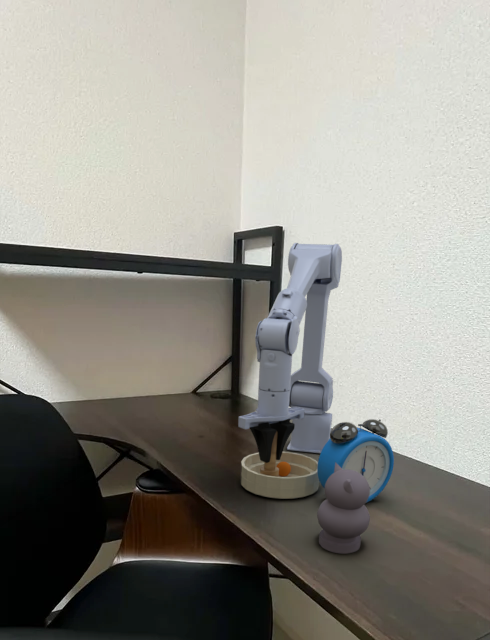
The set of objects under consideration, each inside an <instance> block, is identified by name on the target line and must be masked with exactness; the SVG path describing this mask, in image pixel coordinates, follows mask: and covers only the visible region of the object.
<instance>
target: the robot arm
mask: <svg viewBox="0 0 490 640" xmlns="http://www.w3.org/2000/svg"><path fill="white" fill-rule="evenodd" d="M287 257H288V258H287V267H288V272H289V275H290V277H289V280H288V283H287V287H286V288H284V289H281V290H280V291H279V292H278V294H277V296H276V298H275V299H274V300H275V301H274V302H273V305H272V307H271V309H270V311H269V313H268V316H267V317H265V318H263V319H262V320H260V321H259V322H258V323H257V326H256V330H255V336H254V343H255V348H256V360H257V362H258V363H259V365H258V388H257V389H258V392H257V408H256V409H255V411H252V412H250V413H247V414H244V415H240V416H238V423H237V424H238V428H240V429H242V430H250V432H251V434H252V436H253V438H254V441H255V443H256V446H257V451H258V452H259V456H260V460H261V461H263V462H266V463H268V462H270V458H271V449H272V443H273V439H274V436H275V434H276V431H277V432H278V433H277V450H276V460H280V458H281V455H282V452H284V448H285V447H286V444H287V442H288V440H289V438H290V441H289V443H288V445H287V447H286V450H287V451H293V452H294V451H295V452H301V453H302V452H304V453H313V454H321V451H322V449H323V447H324V446H325V444H326V443H327V442H328V440H329V439H330V432H331V430H332V425H333V413H332V412H328V411H329V410H330V409H331V407H332V404H333V399H334V387H333V386H334V380H333V377H332V376H331V374H329V373H328V372H327V371H326V370H325V369H324V368H323V362H324V350H325V341H326V339H325V338H326V330H327V329H326V328H327V320H328V309H329V308H328V307H329V300H330V299H329V298H330V295H331V291H332V290H335V289H337V288H339V285H340V282H341V274H342V273H341V272H342V264H343V263H342V262H343V251H342V248H341V246H340V244H339V243H334V244H323V243H299V242H293V244H292V245H291V247H290V248H289V251H288V256H287ZM303 317H304V327H303V339H302V352H301V365H300V368H298V369H297V370H295V371H294V372H293V373H292V365H293V355H294V354H295V353H296V350H297V348H298V343H299V336H300V331H301V328H300V325H301V322H302V320H303ZM291 421H292V422H291Z"/></svg>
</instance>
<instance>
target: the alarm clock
mask: <svg viewBox="0 0 490 640" xmlns="http://www.w3.org/2000/svg"><path fill="white" fill-rule="evenodd" d="M357 426H358V427H357ZM388 435H389V430H388V428H387V426H386V424H385V423H383V422H382V420H381V419H375V418H369V419H367V420H366V419H365V420H364V421H363V422H362V423H358V424H357V425H355V424H354V423H352V422H350V421H342V422H339V423H337V424H335V425H334V426H333V427H331V432H330V439H329V440H328V442H327V443H326V444H325V446H324V447H323V449H322V451H321V453H319V456H318V460H317V461H318V466H317V473H318V478H319V484H320V485H321V487H322V488H323V489H324V490H325V484H326V481H327V480H328V478H329V477H330V476H331V475H332V474H333V473H334V469H335V462H336V463H337V464H338V465H339V466H340V467H341V468H342V469H343V470H344V469H348V470H354V471H356V472H358V473H360V474H361V475H363V476H364V477H365V478H366V480H367V482H368V484H369V487H370V494H369V498H368V500H367V502H366V503H369V502H374V501H375V499H376V498H377V497H378V496H379V495H380V494H381V493H382V492H383V491H384V490H385V488H386V486H387V485H388V483H389V482H390V479H391V477H392V474H393V471H394V467H395V466H394V465H395V456H394V450H393V448H392V445H391V444H390V443H389V442H388V441H387V437H388ZM366 503H365V504H366Z"/></svg>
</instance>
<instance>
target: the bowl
mask: <svg viewBox="0 0 490 640" xmlns="http://www.w3.org/2000/svg"><path fill="white" fill-rule="evenodd" d="M280 462H287V463H288V464H289V465H290V467H291V471H290V473H289V474H288V475H287V476H280V475H279V477H276V476H268V475H264V474H260V468H261V467H263V466H264V462H263V461H261V460H260V456H259V451H258V452H254V453H250V454H248V455H246V456H244V457H243V458H242V460H240V485H241V486H242V487H243V488H244V489H245V490H246V491H248V492H250V493H252V494H254V495H256V496H257V495H258V496H260V497H265V498H271V499H280V500H281V499H283V500H284V499H285V500H288V499H298V498H299V499H300V498H304V497H308V496H311V495H313V494H315V493H316V492H317V491H318V490H319V487H320V481H319V478H318V473H317V466H318V460H316V459H315V458H313V457H310V456H308V455H305V454H302V453H297V452H291V451H283V452H282V455H281V458H280V460H276V466H277V465H278V463H280Z"/></svg>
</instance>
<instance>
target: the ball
mask: <svg viewBox="0 0 490 640" xmlns="http://www.w3.org/2000/svg"><path fill="white" fill-rule="evenodd" d="M276 467H277V468H279V475H280V476H287V475H288V474H289V473H290V471H291V467H290V465H289V464H288V463H287V462H280V463H278V465H277V466H276Z"/></svg>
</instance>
